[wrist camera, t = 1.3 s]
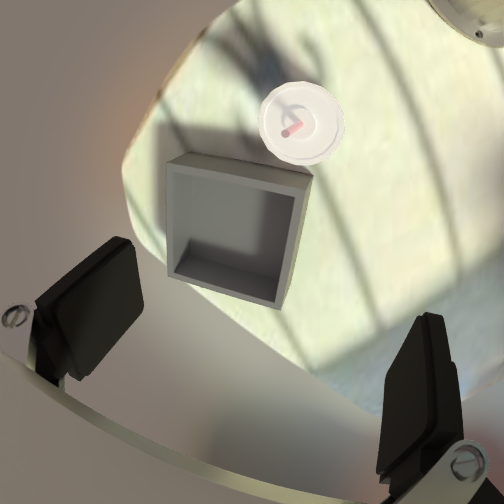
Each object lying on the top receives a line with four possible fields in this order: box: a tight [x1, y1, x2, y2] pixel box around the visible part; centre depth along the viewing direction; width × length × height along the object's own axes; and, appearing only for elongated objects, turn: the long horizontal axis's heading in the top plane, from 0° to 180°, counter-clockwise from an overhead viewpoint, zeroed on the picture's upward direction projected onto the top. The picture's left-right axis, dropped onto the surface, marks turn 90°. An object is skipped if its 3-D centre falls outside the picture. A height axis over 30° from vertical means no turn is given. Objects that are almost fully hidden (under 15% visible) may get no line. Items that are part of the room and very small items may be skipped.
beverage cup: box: [258, 81, 345, 165], centre depth 22 cm, size 6×6×14 cm
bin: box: [166, 152, 313, 311], centre depth 34 cm, size 14×14×5 cm
